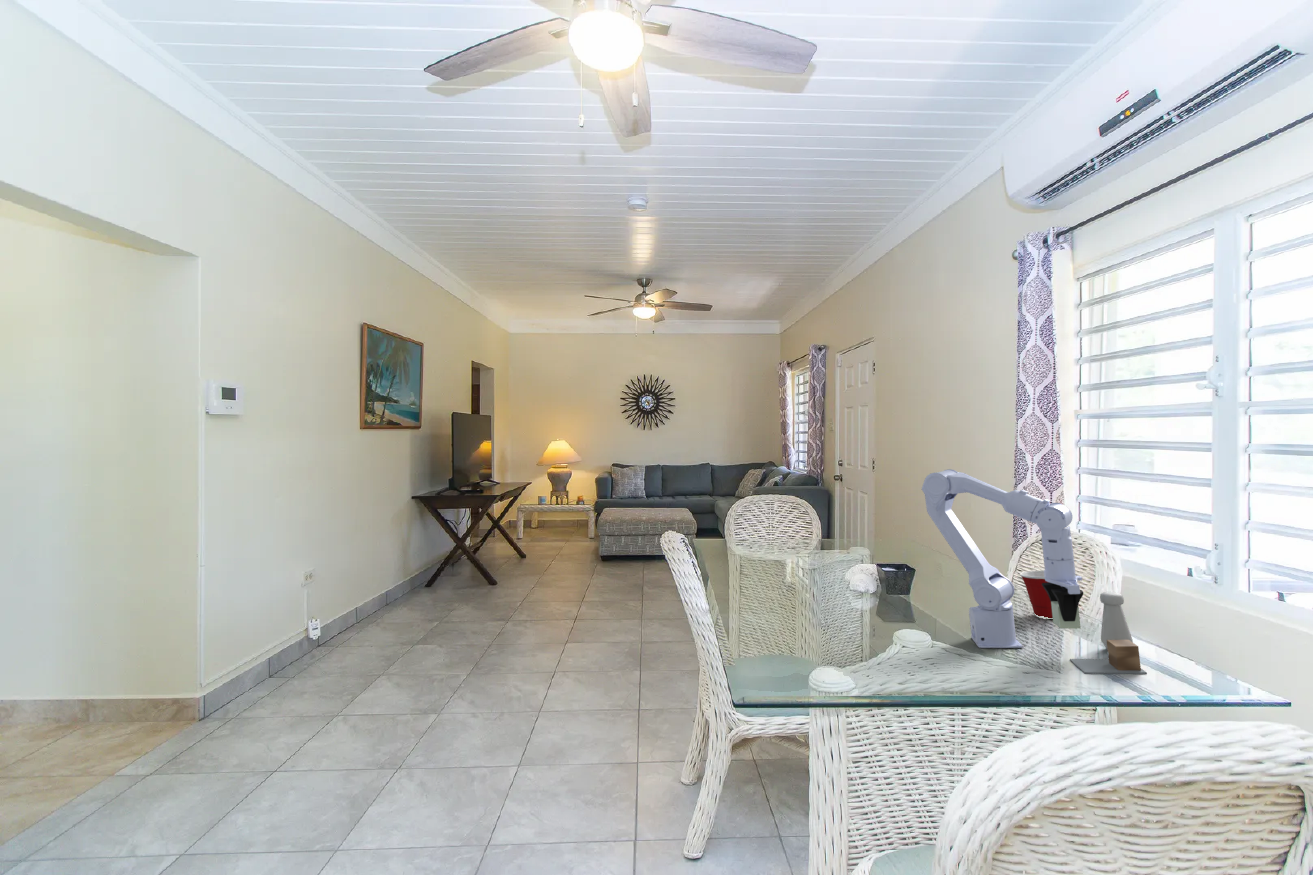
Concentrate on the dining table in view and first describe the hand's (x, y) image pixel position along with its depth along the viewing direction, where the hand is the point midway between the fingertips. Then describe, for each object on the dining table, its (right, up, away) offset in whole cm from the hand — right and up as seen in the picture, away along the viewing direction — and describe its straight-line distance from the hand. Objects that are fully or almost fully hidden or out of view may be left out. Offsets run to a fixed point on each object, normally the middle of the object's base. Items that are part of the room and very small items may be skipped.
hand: (1065, 617), depth 133 cm
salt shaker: (+12, -8, 0) cm, 14 cm away
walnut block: (+6, -7, -10) cm, 14 cm away
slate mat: (+3, -8, -8) cm, 12 cm away
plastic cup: (+13, -8, +26) cm, 30 cm away
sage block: (0, -2, 0) cm, 2 cm away
